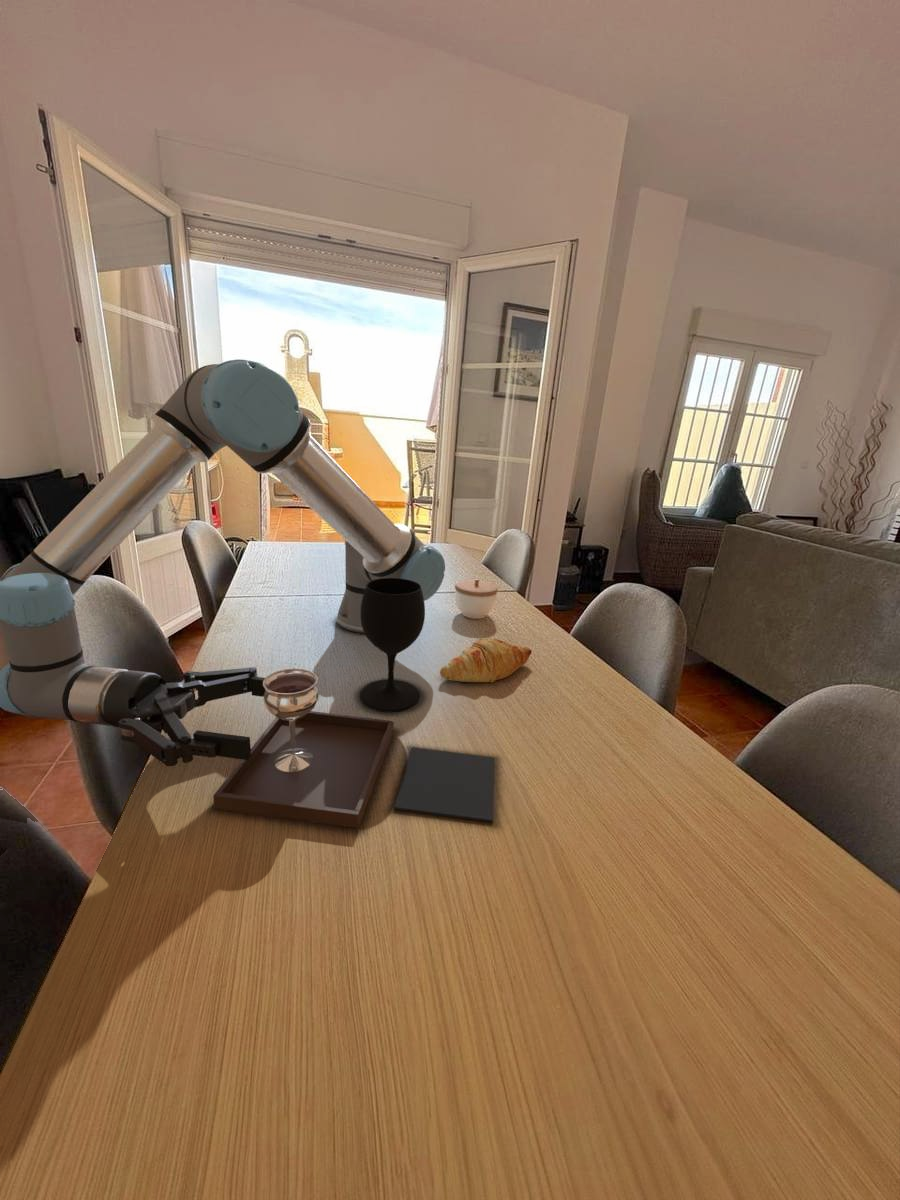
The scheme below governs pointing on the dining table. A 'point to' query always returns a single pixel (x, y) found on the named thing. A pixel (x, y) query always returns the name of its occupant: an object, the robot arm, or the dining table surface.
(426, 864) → the dining table surface
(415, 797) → the mat
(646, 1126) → the dining table surface
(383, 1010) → the dining table surface
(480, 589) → the trinket box
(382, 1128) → the dining table surface
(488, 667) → the croissant
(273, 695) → the wineglass
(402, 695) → the wine glass
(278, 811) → the tray
